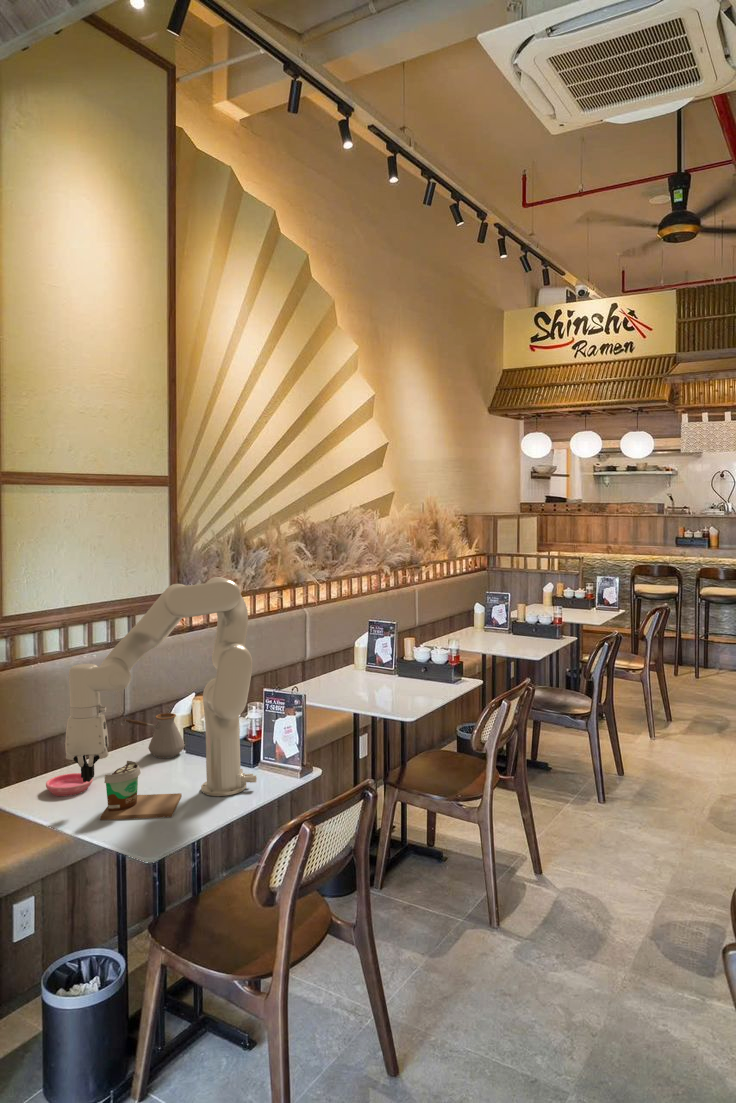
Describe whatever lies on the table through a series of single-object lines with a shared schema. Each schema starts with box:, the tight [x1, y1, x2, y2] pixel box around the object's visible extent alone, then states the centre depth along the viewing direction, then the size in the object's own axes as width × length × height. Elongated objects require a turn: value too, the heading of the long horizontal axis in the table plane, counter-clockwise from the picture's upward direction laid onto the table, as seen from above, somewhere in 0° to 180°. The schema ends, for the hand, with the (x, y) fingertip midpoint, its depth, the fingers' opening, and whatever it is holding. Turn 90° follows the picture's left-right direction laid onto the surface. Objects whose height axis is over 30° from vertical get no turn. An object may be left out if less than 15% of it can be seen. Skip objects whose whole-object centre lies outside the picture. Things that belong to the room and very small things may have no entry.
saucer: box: [45, 772, 94, 797], centre depth 215 cm, size 12×12×3 cm
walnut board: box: [100, 792, 182, 821], centre depth 201 cm, size 18×14×1 cm
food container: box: [104, 760, 141, 811], centre depth 200 cm, size 12×6×10 cm, turn 169°
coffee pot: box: [120, 712, 186, 759], centre depth 242 cm, size 21×12×15 cm, turn 138°
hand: (87, 780), depth 200 cm, fingers closed
